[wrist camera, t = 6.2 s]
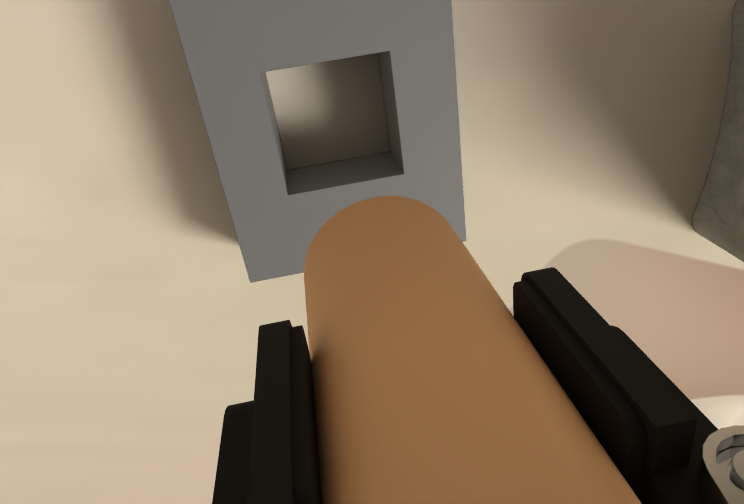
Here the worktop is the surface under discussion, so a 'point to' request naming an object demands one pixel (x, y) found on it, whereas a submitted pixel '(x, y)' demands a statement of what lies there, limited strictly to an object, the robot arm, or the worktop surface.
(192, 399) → the worktop surface
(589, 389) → the robot arm
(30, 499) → the worktop surface
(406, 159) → the hole block
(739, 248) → the hip flask
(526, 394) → the long pin
